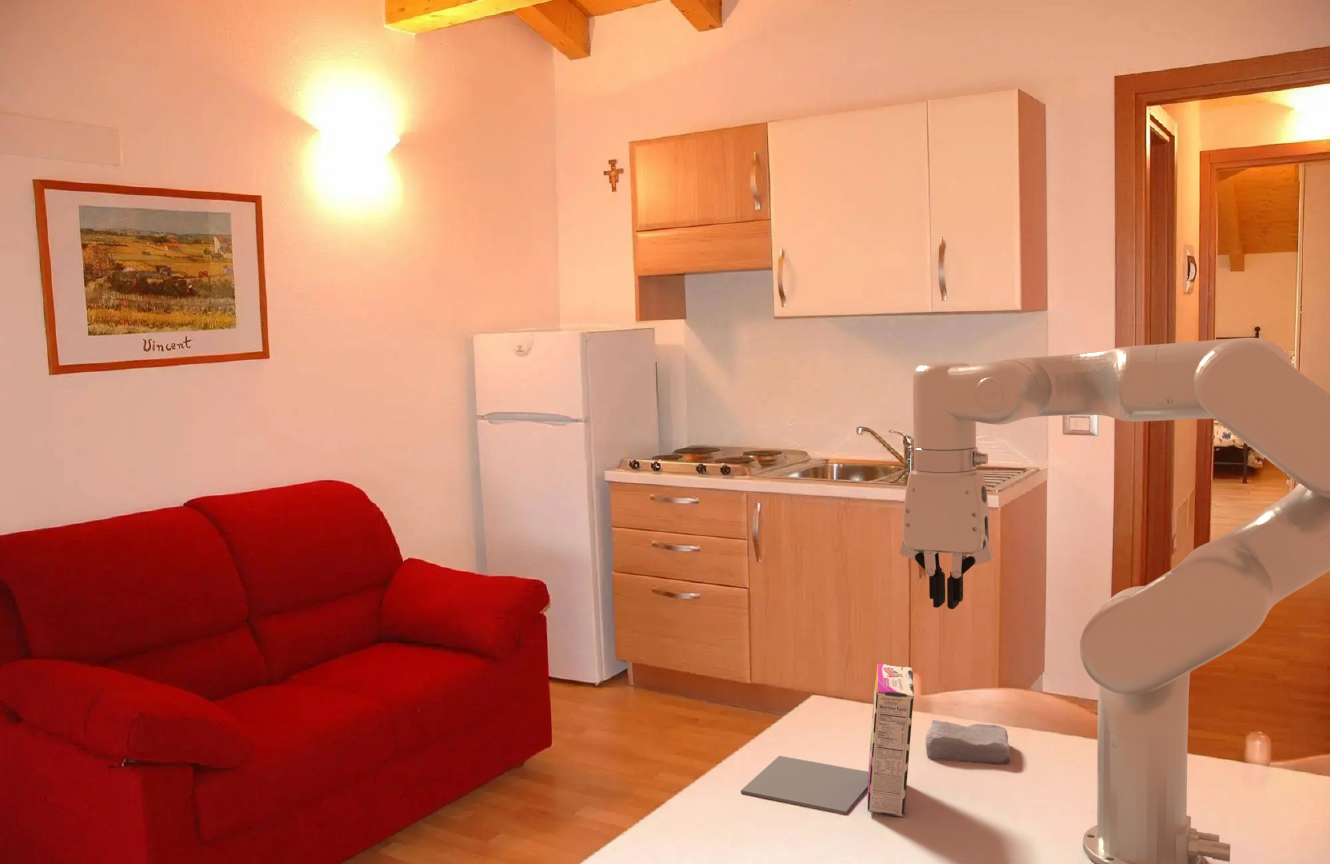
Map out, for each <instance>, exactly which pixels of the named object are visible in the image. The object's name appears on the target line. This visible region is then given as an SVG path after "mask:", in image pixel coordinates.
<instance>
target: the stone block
mask: <svg viewBox="0 0 1330 864" xmlns="http://www.w3.org/2000/svg"><path fill="white" fill-rule="evenodd" d="M1009 745H1010V744H1009V735H1008V730H1007V729H1006V728H1005V727H1002V726H1000V725H997V724H983V723H974V724H970V725H968V726H966V725H961V724H957V723H953V722H948V721H940V720H934V719H933V720H932V721H931V723H930V726H929V727H928V729H927V731H926V735H925V748H926V749H925V750H926V751H925V753H926V757H927V758H928V760H929V759H931V760H935V759H937V761H938V760H939V761H952V762H962V763H971V764H972V763H974V764H975V763H976V764H985V765H987V764H988V765H1001V764H1002V765H1004V764H1005V765H1007V764H1009V763H1010V761H1011V760H1012V759H1011V752H1010V751H1011V750H1010V746H1009Z"/></svg>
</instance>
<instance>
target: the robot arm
mask: <svg viewBox="0 0 1330 864" xmlns="http://www.w3.org/2000/svg"><path fill="white" fill-rule="evenodd" d="M912 402H913V403H912V407H913V410H912V412H913V414H912V415H913V418H912V419H913V421H912V422H913V470H911V471H909V473H908V477H907V483H906V490H905V496H904V502H903V503H904V506H903V518H902V542H901V546H900V549H899V553H900V555H901V556H902V557H903V556H904V557H905V558H908V559H911V560H913V561H916V562H917V564H919V565H920V567H922V569H924V571H925V573H926V575H927V576H928V583H929V585H928V586H929V588H928V589H929V590H928V591H929V592H928V593H929V600H933V601H932V602H933V603H932V606H933V608H937V609H938V608H940V607H941V606H942V605H943V604H945V602H946V600H947V605H946V606H947V608H948V609H949V610H954V609H956V608H957V607H958V606H959V604H960V603H961V602H963V599H964V574H965V573H966V572H968V570H970V569H971V568H972V567H973V566H976V565H981V564H985V563H989V562H990V561H992V560H993V559H994V554H993V550H992V547H991V544H990V542H991V522H990V521H991V520H990V509H989V498H988V491H987V485H986V479H985V475H984V472H983V471H977V468H978V467H979V466H981V465H988V464H989V462H988V461H989V455H988V453H982V452H981V451H980V452H979V450H978V446H977V426H976V425H977V423H983V424H987V425H997V426H998V425H1007V424H1011V423H1014V422H1017V421H1020V420H1024V419H1027V418H1036V417H1039V418H1040V417H1054V416H1055V417H1057V416H1059V417H1060V416H1078V415H1080V416H1083V415H1084V416H1087V415H1089V416H1091V415H1092V416H1105V417H1108V418H1109V417H1110V418H1112V419H1115V420H1118V421H1122V422H1134V423H1136V422H1138V423H1139V422H1142V423H1143V422H1156V421H1157V422H1158V421H1159V422H1160V421H1162V422H1163V421H1179V420H1209V419H1210V420H1212V419H1214V420H1215V421H1217V422H1218V423H1219V424H1221V425H1222V426H1223V427H1224V428H1225V429H1226V430H1227V431H1229V432H1230V433H1231V434H1233V435H1234V436H1235V437H1236V438H1238V439H1239V440H1240V441H1241V442H1243V444H1245V445H1247V446H1249V447H1250V448H1251V449H1252V450H1254V451H1255V452H1256V453H1258V454H1259V455H1260V456H1261V457H1263V458H1265V460H1267V461H1268V462H1270V463H1271V464H1273V466H1275V467H1276V468H1277V469H1279V470H1280V471H1282V472H1283V473H1284V474H1285V475H1287V476H1288V477H1289V478H1291V479H1292V480H1294V481H1295V482H1296V483H1298V484H1297V485H1296V486H1295V487H1294V488H1293V490H1291V491H1290V492H1289V493H1287V494H1286V495H1285V496H1283V497H1281V498H1280V499H1279V500H1277V501H1276V502H1274V503H1272V504H1271V505H1269V506H1268V507H1266V508H1264V509H1263V510H1262V511H1261V512H1259V513H1258V514H1256V515H1254V516H1253V517H1251V518H1250V519H1248V520H1246V521H1245V522H1243V523H1242V524H1240V525H1238V526H1236V527H1235V528H1233V529H1231V530H1230V531H1228V532H1226V533H1224V534H1222V535H1221V536H1219V537H1217V538H1215V539H1213V540H1211V541H1210V540H1209V542H1207V543H1203V544H1202V545H1200V546H1198V547H1195V549H1193V550H1191V552H1190V553H1188V555H1186V556H1185V557H1184V558H1183V559H1182V561H1180V563H1179V564H1177V565H1176V566H1175V567H1174V568H1171V570H1169V571H1167V572H1165V573H1164V574H1162V575H1161V576H1159V577H1158V578H1156V579H1155V580H1154V579H1153V581H1151V582H1150V583H1148V584H1146V585H1140V586H1132V587H1127V588H1126V589H1122V590H1121V591H1119V592H1117V593H1116V594H1115V595H1113V596H1112V597H1110V598H1109V599H1108V601H1106V602H1105V603H1104V605H1102V606H1101V607H1100V609H1099V610H1098V611H1097V612H1096V613H1095V614H1094V615H1093V616H1092V618H1091V619H1089V621H1088V622H1087V624H1086V626H1084V628H1083V630H1082V633H1081V636H1080V640H1079V655H1080V659H1081V663H1082V665H1083V668H1084V669H1085V672H1086V673H1087V675H1088V676H1089V677H1090V679H1092V681H1094V683H1096V684H1097V685H1098V691H1097V693H1098V695H1097V771H1096V772H1097V777H1096V779H1097V782H1096V783H1097V789H1096V790H1097V799H1096V800H1097V803H1096V804H1097V807H1096V808H1097V811H1096V812H1097V813H1096V816H1097V817H1096V818H1097V819H1096V820H1097V821H1096V823H1097V825H1093V826H1092V827H1090V828H1089V829H1087V830H1086V831H1085V833H1084V834H1083V837H1082V846H1083V847H1082V848H1083V851H1084V853H1085V854H1086V855H1087V857H1088V858H1089V859H1091V860H1092V862H1094V863H1095V864H1202V857H1206V858H1212V860H1216V861H1217V860H1218V861H1221V862H1222V861H1223V862H1227V863H1230V862H1231V843H1226V842H1222V841H1221V842H1220V834H1216V833H1211V832H1202V831H1197V828H1194V827H1192V816H1190V815H1187V807H1188V806H1187V801H1188V732H1189V693H1190V678H1191V672H1192V671H1195V670H1196V669H1198V668H1200V667H1201V666H1203V665H1205V664H1207V663H1210V662H1211V661H1213V660H1214V659H1216V658H1218V657H1220V656H1222V655H1224V654H1225V653H1228V652H1229V651H1231V650H1232V649H1234V648H1236V647H1237V646H1238V645H1241V644H1242V643H1244V642H1245V641H1247V639H1249V638H1251V636H1252V635H1253V634H1254V633H1256V632H1257V631H1258V630H1259V629H1260V627H1261V626H1262V624H1264V622H1265V620H1266V618H1267V617H1268V615H1269V612H1270V611H1271V610H1272V608H1273V607H1274V606H1275V605H1276V604H1278V603H1279V602H1280V601H1282V600H1283V599H1285V598H1286V597H1287V598H1288V596H1290V595H1292V594H1294V593H1295V592H1297V591H1299V590H1300V589H1302V588H1303V587H1305V586H1307V585H1309V584H1310V583H1312V582H1314V581H1315V580H1317V579H1318V578H1320V577H1322V576H1323V575H1325V574H1327V573H1328V572H1330V393H1329V392H1328V391H1327V390H1325V389H1324V388H1322V387H1321V386H1319V385H1318V384H1317V383H1315V382H1314V381H1313V380H1312V379H1310V378H1308V377H1307V376H1306V375H1305V374H1303V373H1302V372H1301V371H1300V370H1298V369H1297V368H1295V367H1294V366H1293V363H1292V361H1291V359H1290V357H1289V355H1288V354H1287V352H1286V351H1285V350H1284V349H1283V348H1282V347H1281V346H1280V345H1278V344H1276V343H1275V342H1273V341H1270V340H1268V339H1265V338H1260V337H1237V338H1225V339H1223V338H1222V339H1210V340H1199V341H1186V342H1173V343H1171V342H1170V343H1160V344H1144V345H1131V346H1122V347H1115V348H1113V349H1109V350H1105V351H1099V352H1098V351H1096V352H1090V353H1089V352H1088V353H1087V352H1085V353H1076V354H1063V355H1062V354H1060V355H1059V354H1058V355H1048V356H1032V357H1019V358H1017V357H1015V358H1009V359H1003V360H998V361H990V362H984V363H978V364H972V365H971V364H968V363H966V362H960V361H959V362H958V361H957V362H954V361H951V362H950V361H949V362H947V361H946V362H945V361H944V362H929V363H923V364H920V365H918V366H916V368H915V369H914V372H913V375H912ZM941 553H945V554H952V556H951V557H952V558H951V571H950V572H949V577H947V579H946V574H945V571H943V569H942V566H941ZM946 580H947V581H946ZM946 589H947V591H946ZM946 594H947V595H946ZM946 596H947V597H946ZM946 598H947V599H946Z"/></svg>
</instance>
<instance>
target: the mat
mask: <svg viewBox="0 0 1330 864" xmlns="http://www.w3.org/2000/svg"><path fill="white" fill-rule="evenodd" d="M867 791H868V771H867V770H861V769H856V768H850V767H844V766H839V765H833V764H828V763H827V764H826V763H823V762H822V763H821V762H816V761H811V760H806V759H805V760H804V759H799V758H793V757H788V756H783V755H778V756H777V757H776V758H775V759H774V760H773V761H771V762H770V764H768V765H767V766H766V767H765V768H764V769H763V770H761V771H760V772H759V773H758V774H757V775H756V776H754V778H753V779H752V780H751V781H749V782H748V783H747V784H746V785H744V787H743V788H741V789H740V794H743V795H749V796H753V797H759V798H763V799H768V800H771V801H772V800H773V801H778V802H784V803H788V804H791V805H792V804H793V805H797V804H798V806H803V807H808V808H811V809H818V810H822V811H827V812H833V813H837V814H841V815H847V814H848V813H849V812H850V810H851V809H852V808H853V807H854V806H855V805H856V803H857V802H858V801H859V800H860V799H861V798H862V796H863V795H864V794H865V793H866V792H867Z"/></svg>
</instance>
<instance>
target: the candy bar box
mask: <svg viewBox="0 0 1330 864" xmlns="http://www.w3.org/2000/svg"><path fill="white" fill-rule="evenodd" d="M913 674H914V673H913V667H909V666H901V665H900V666H899V665H893V664H890V665H889V664H887V663H877V664H876V673H875V681H874V692H873V704H872V716H871V717H872V718H871V730H870V739H869V740H870V741H869V742H870V744H869V754H868V755H869V759H868V771H867V772H868V789H867V812H868V813H873V814H880V815H886V816H895V817H900V818H901V817H903V818H904V817H905V807H906V797H907V783H908V774H909V773H908V771H909V760H910V747H911V736H912V722H913V721H912V720H913V709H914V699H915V698H914V697H915V695H914V694H915V690H914V675H913Z"/></svg>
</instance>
